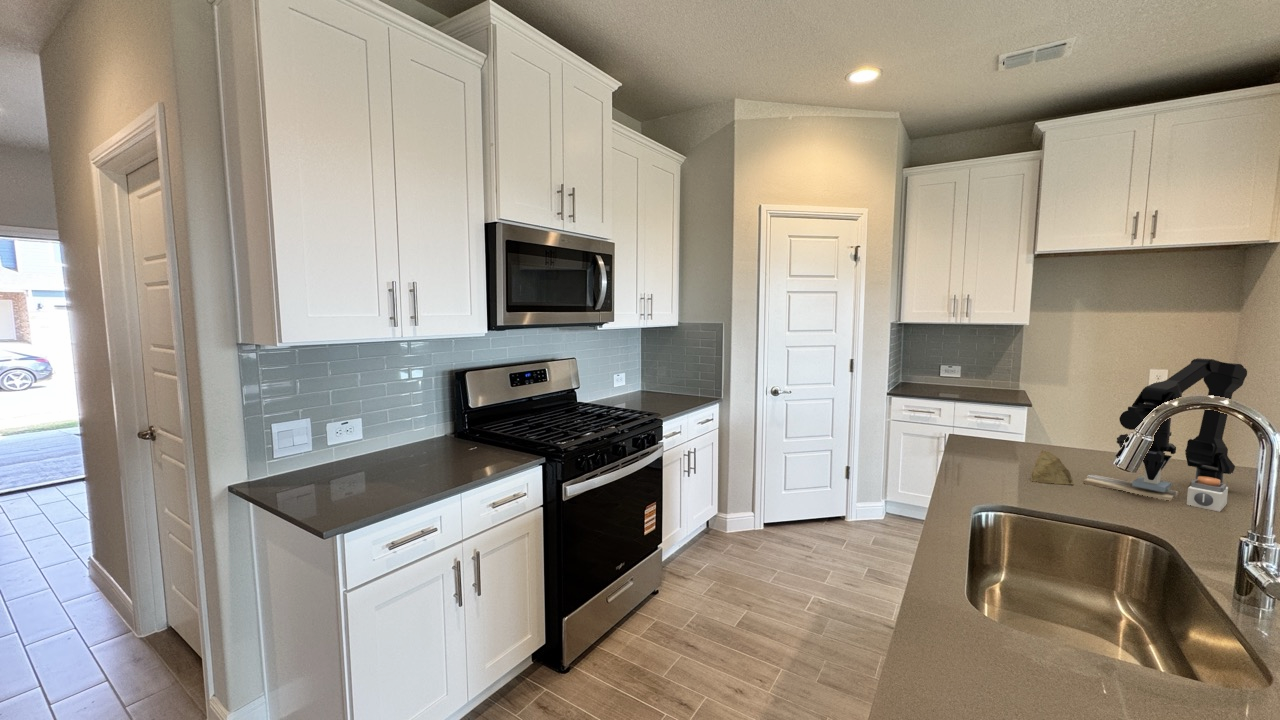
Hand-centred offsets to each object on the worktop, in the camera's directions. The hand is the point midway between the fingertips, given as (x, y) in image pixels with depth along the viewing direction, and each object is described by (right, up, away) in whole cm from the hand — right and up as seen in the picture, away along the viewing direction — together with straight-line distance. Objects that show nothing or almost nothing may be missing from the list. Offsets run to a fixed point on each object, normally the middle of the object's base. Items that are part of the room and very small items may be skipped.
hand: (1152, 478), depth 157 cm
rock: (-22, -4, +11) cm, 25 cm away
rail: (-3, -4, +4) cm, 7 cm away
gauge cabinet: (+7, -5, -9) cm, 12 cm away
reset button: (+7, +1, -10) cm, 12 cm away
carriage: (0, -2, 0) cm, 2 cm away
